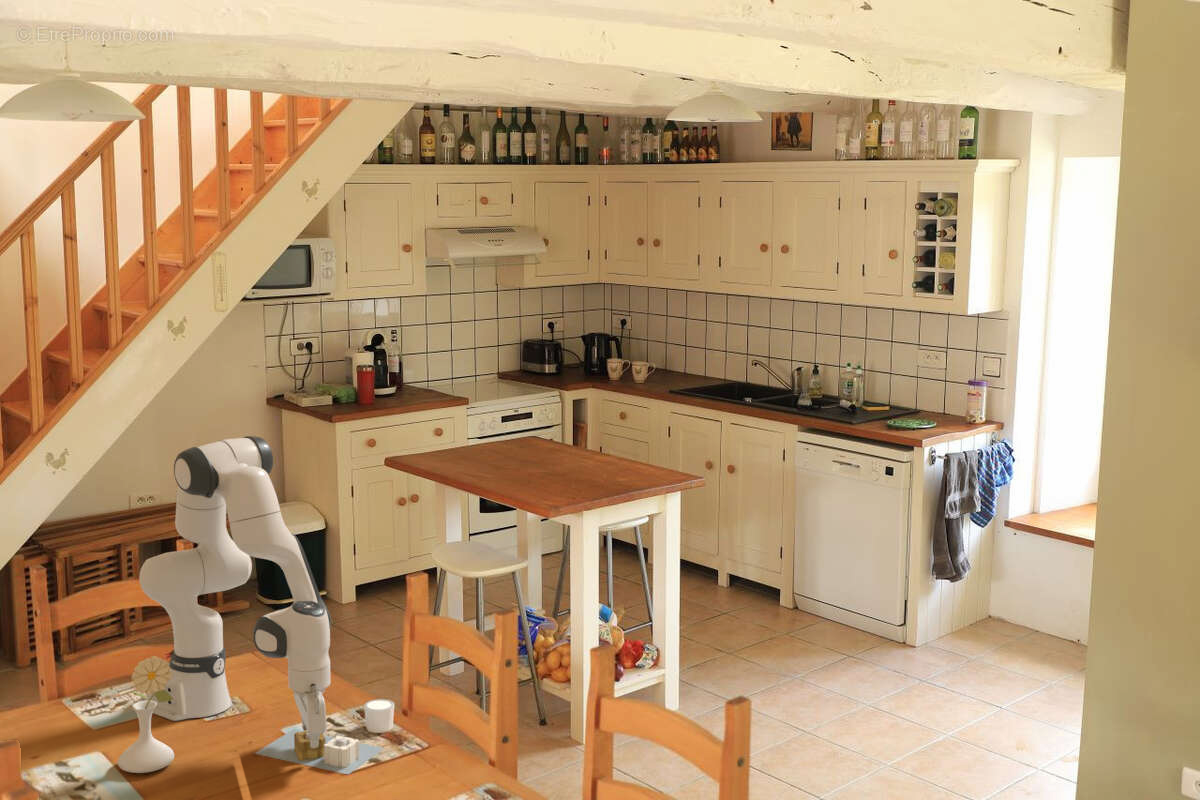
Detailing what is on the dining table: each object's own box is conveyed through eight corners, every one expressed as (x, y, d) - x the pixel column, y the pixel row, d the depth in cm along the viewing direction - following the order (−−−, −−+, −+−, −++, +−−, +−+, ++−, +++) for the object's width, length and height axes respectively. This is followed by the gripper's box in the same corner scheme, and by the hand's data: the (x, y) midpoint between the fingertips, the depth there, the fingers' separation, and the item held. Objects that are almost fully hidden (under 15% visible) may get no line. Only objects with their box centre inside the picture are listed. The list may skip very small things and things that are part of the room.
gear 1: (286, 756, 257) (285, 739, 257) (306, 743, 264) (305, 726, 264) (314, 763, 255) (313, 745, 254) (333, 749, 261) (333, 732, 261)
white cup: (388, 741, 270) (387, 711, 269) (359, 738, 271) (359, 708, 270) (399, 729, 277) (398, 700, 276) (371, 726, 278) (371, 697, 277)
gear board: (254, 759, 259) (254, 733, 258) (294, 735, 272) (293, 710, 271) (348, 781, 250) (348, 754, 249) (384, 754, 263) (384, 728, 262)
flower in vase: (105, 772, 252) (101, 659, 248) (143, 751, 262) (139, 642, 259) (156, 783, 247) (152, 668, 244) (192, 761, 258) (189, 650, 254)
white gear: (327, 770, 252) (327, 752, 251) (321, 756, 258) (321, 738, 258) (361, 764, 255) (361, 747, 254) (355, 751, 261) (355, 733, 261)
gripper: (333, 692, 249) (333, 755, 251) (316, 659, 267) (317, 718, 269) (302, 696, 246) (303, 760, 248) (287, 662, 265) (288, 721, 267)
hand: (310, 737), depth 259 cm, fingers open, 8 cm apart
